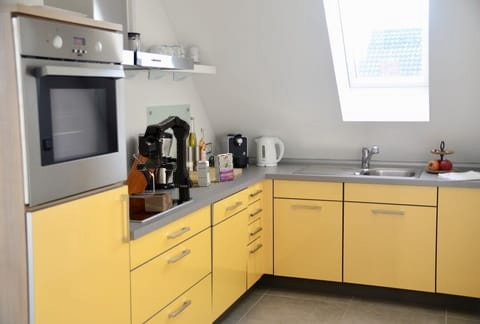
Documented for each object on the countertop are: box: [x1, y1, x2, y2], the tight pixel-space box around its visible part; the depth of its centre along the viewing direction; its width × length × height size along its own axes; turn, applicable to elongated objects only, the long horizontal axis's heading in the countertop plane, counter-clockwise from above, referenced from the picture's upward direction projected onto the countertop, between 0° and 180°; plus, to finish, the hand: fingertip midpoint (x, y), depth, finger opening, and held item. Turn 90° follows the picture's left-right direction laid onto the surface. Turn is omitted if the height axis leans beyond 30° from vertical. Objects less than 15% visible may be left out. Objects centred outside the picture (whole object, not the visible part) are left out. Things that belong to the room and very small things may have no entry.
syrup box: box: [196, 160, 211, 187], centre depth 349 cm, size 6×6×14 cm
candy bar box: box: [213, 153, 235, 183], centre depth 364 cm, size 11×5×16 cm, turn 131°
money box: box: [144, 192, 173, 213], centre depth 283 cm, size 11×9×7 cm
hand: (157, 184), depth 282 cm, fingers open, 9 cm apart
